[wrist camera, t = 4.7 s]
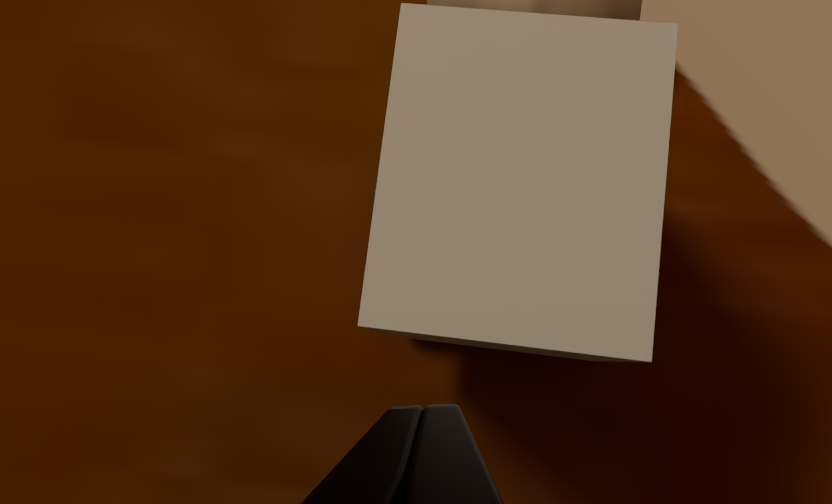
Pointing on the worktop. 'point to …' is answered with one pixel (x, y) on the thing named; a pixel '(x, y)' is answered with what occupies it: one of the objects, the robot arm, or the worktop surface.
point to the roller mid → (555, 7)
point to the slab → (522, 183)
